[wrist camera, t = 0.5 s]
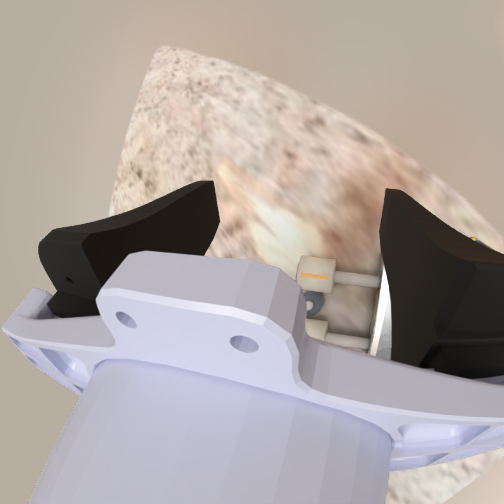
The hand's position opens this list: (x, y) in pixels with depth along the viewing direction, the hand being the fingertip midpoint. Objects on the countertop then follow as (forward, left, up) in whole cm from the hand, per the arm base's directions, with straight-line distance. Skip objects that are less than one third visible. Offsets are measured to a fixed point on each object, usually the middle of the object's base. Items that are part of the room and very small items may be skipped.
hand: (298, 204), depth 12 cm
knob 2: (-13, -1, -24) cm, 27 cm away
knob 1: (-5, -1, -24) cm, 25 cm away
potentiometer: (-9, +3, -25) cm, 27 cm away
